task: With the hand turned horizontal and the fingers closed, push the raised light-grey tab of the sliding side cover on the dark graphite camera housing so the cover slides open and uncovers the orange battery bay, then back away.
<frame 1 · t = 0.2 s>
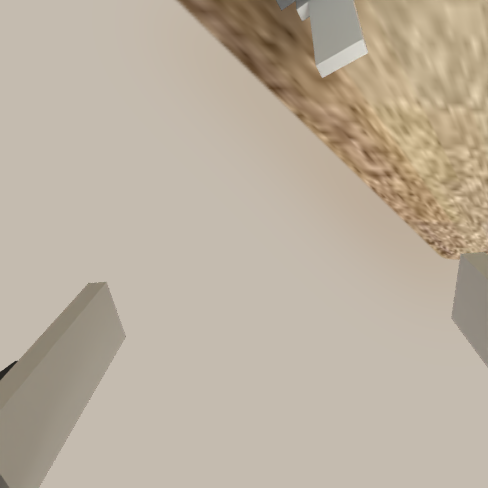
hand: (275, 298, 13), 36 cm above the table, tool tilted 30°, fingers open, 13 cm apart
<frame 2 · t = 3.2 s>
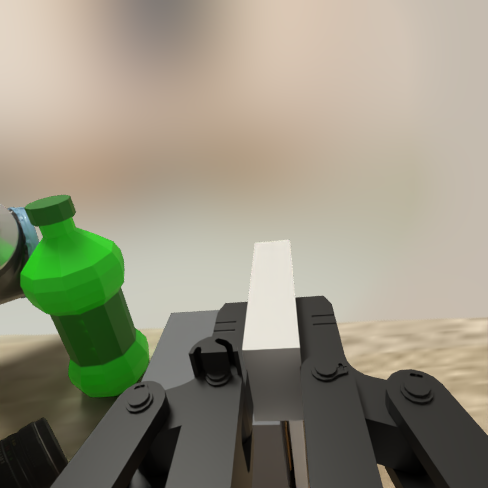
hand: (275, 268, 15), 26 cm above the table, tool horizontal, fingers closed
housing: (231, 435, 36), on the table
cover: (293, 391, 28), point 10 cm above the table, slide at 0.0 cm
plastic bottle: (119, 381, 46), on the table, touching arm
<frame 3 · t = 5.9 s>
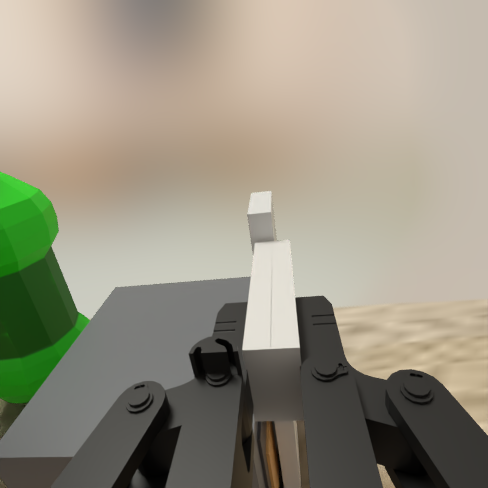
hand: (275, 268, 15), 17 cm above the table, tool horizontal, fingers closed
housing: (196, 458, 26), on the table
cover: (279, 355, 20), point 10 cm above the table, slide at 2.7 cm, touching gripper
plastic bottle: (58, 382, 35), on the table
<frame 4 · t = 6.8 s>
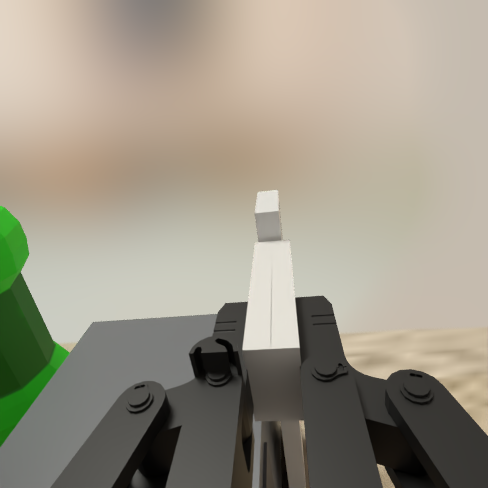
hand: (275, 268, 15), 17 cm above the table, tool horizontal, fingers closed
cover: (284, 355, 20), point 10 cm above the table, slide at 7.2 cm, touching gripper
plastic bottle: (34, 422, 31), on the table
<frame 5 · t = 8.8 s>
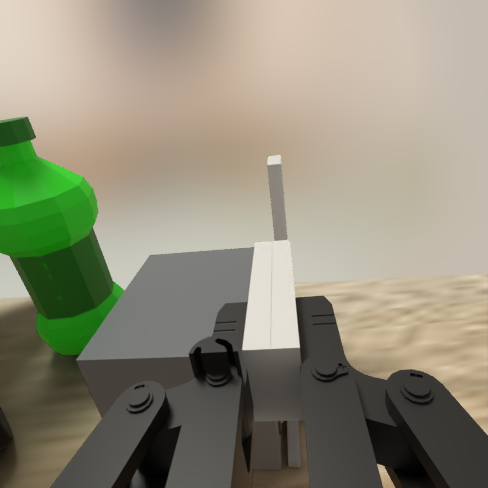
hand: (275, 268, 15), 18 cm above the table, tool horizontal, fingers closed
housing: (215, 391, 32), on the table
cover: (283, 263, 31), point 10 cm above the table, slide at 8.3 cm
plastic bottle: (97, 340, 41), on the table, touching arm
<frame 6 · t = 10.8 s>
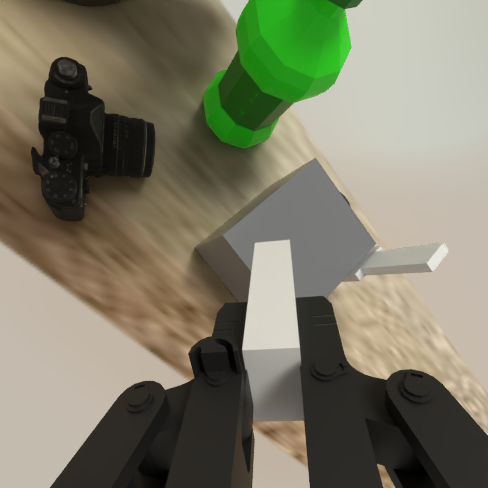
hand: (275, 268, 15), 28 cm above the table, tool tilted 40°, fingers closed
camera: (100, 165, 40), on the table
housing: (262, 250, 46), on the table
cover: (365, 263, 39), point 10 cm above the table, slide at 8.3 cm
plastic bottle: (230, 122, 47), on the table
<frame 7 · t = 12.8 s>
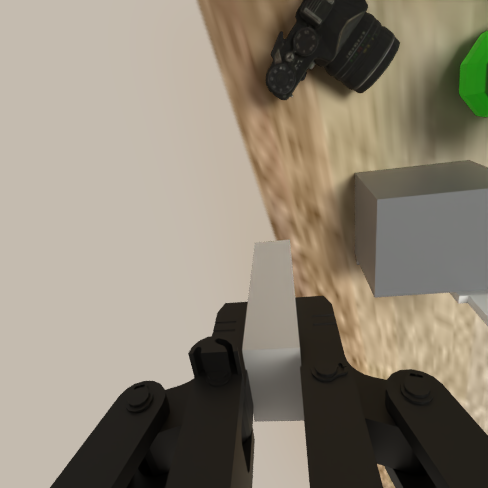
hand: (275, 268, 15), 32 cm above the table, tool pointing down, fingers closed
camera: (327, 51, 40), on the table
housing: (408, 210, 47), on the table
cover: (478, 294, 40), point 10 cm above the table, slide at 8.3 cm
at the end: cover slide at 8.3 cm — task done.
